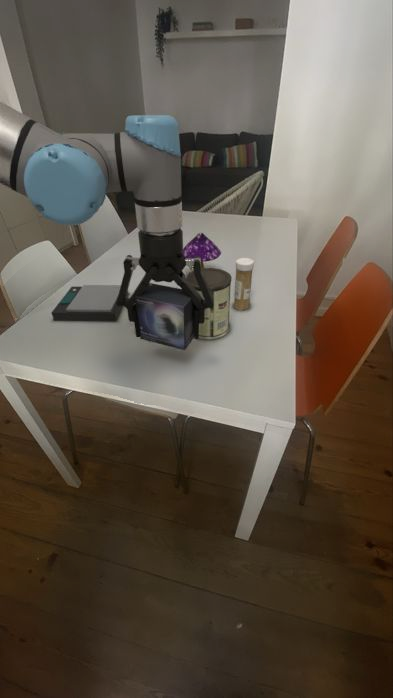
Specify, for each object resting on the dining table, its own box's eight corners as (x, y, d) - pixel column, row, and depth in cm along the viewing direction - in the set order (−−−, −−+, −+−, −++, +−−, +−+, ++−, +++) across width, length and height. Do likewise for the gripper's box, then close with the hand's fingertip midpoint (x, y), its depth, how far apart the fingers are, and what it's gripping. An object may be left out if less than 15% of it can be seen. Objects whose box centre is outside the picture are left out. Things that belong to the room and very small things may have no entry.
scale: (53, 320, 85) (50, 310, 83) (73, 293, 97) (70, 283, 95) (116, 321, 84) (114, 310, 82) (128, 294, 96) (127, 284, 94)
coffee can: (198, 314, 86) (197, 264, 78) (234, 322, 83) (237, 271, 74) (181, 334, 79) (178, 282, 70) (219, 344, 76) (221, 290, 67)
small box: (138, 340, 66) (131, 295, 60) (152, 324, 71) (148, 281, 65) (184, 352, 63) (183, 306, 57) (196, 334, 68) (196, 290, 62)
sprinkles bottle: (250, 310, 87) (255, 263, 79) (234, 311, 87) (237, 264, 79) (247, 302, 91) (252, 256, 83) (232, 302, 91) (234, 257, 83)
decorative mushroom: (186, 270, 109) (185, 225, 100) (222, 272, 107) (224, 227, 98) (177, 286, 99) (174, 238, 90) (217, 289, 97) (218, 241, 88)
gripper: (230, 222, 56) (224, 325, 69) (97, 221, 57) (116, 323, 70) (232, 237, 50) (225, 346, 63) (83, 235, 51) (107, 343, 64)
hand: (167, 334), depth 67 cm, fingers closed on small box, 11 cm apart
